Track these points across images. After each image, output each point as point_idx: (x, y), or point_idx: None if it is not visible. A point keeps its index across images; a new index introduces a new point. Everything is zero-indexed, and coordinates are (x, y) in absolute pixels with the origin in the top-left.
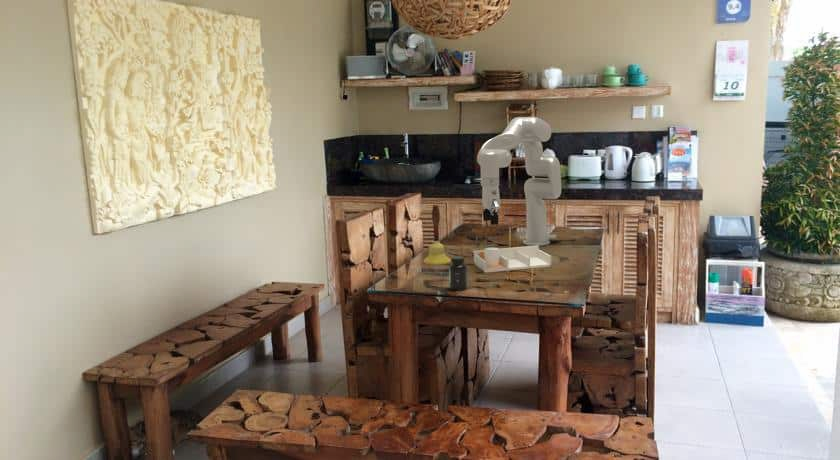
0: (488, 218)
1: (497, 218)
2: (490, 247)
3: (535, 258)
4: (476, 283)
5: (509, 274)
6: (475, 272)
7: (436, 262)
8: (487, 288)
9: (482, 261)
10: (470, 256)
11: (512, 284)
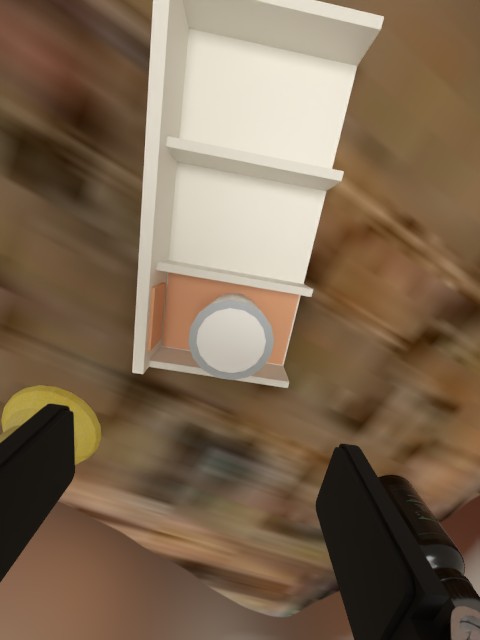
0: (58, 452)
1: (395, 526)
2: (197, 333)
3: (211, 58)
4: (376, 439)
5: (351, 307)
6: (260, 390)
7: (91, 448)
8: (440, 437)
9: (258, 380)
10: (17, 300)
11: (460, 361)
